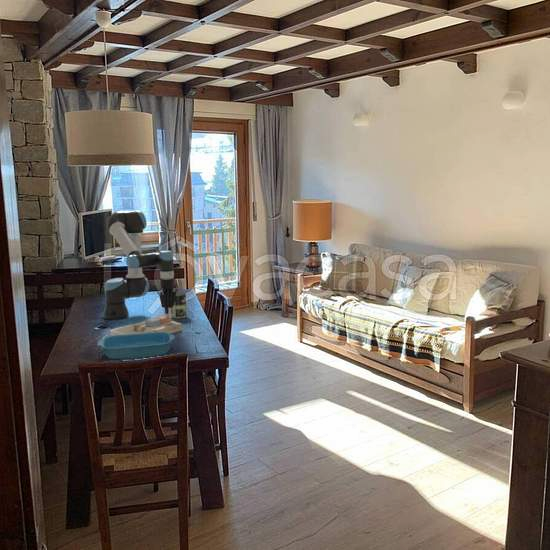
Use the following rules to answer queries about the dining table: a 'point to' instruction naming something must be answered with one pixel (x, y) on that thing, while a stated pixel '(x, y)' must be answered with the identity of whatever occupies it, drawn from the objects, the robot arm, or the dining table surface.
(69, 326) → the dining table surface
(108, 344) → the casserole dish
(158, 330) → the wavy grain square board
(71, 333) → the dining table surface
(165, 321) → the tile rear
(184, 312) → the coffee can
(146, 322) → the tile front
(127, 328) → the tray
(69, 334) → the dining table surface
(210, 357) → the dining table surface
